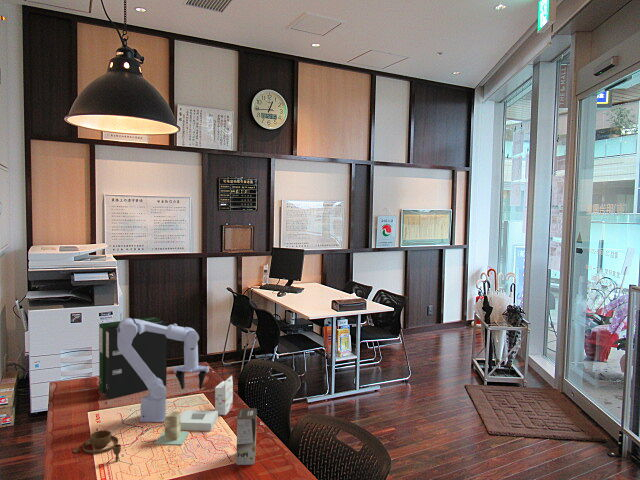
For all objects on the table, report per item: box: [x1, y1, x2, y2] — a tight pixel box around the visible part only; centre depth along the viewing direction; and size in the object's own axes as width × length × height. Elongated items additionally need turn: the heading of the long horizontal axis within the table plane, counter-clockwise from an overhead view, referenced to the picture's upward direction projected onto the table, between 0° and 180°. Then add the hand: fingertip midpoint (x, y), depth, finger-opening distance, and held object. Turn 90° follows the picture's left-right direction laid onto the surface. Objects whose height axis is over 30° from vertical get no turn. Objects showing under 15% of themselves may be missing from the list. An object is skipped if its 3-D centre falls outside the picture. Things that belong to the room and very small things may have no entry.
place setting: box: [73, 429, 122, 463], centre depth 168 cm, size 18×20×6 cm
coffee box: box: [235, 407, 258, 466], centre depth 166 cm, size 9×6×16 cm
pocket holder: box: [180, 409, 219, 432], centre depth 192 cm, size 14×12×3 cm
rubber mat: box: [154, 430, 190, 446], centre depth 179 cm, size 10×10×1 cm
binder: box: [98, 316, 168, 401], centre depth 228 cm, size 27×15×32 cm, turn 132°
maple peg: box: [164, 410, 182, 440], centre depth 179 cm, size 4×4×9 cm
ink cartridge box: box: [214, 375, 234, 416], centre depth 205 cm, size 9×5×15 cm, turn 169°
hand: (191, 388), depth 202 cm, fingers open, 7 cm apart
